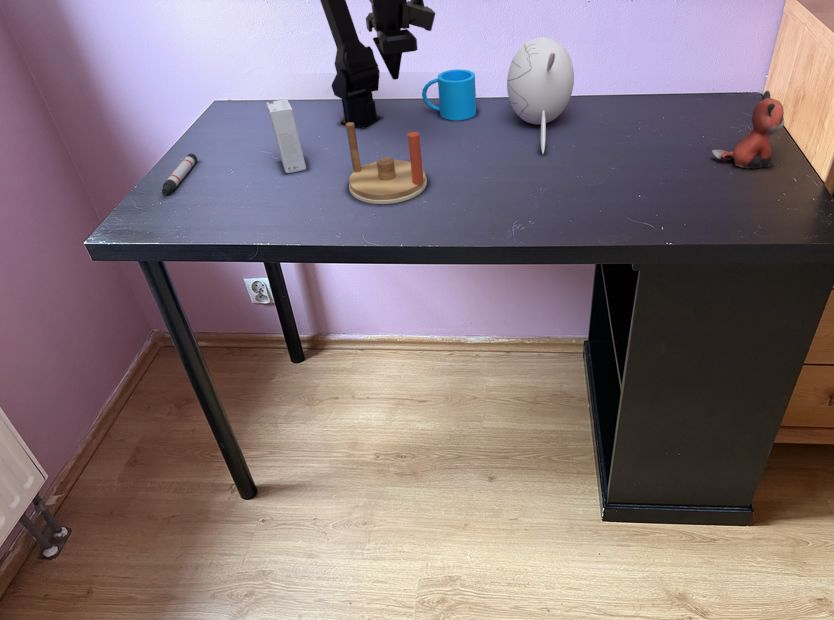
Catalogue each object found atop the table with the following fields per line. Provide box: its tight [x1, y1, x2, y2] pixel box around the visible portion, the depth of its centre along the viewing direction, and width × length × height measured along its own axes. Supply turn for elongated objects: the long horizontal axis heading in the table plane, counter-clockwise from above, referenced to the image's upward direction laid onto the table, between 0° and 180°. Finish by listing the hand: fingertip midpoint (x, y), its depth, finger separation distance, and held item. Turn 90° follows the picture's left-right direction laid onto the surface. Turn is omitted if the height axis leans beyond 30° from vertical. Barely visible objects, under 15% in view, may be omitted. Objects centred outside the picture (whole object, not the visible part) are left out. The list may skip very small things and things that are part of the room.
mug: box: [421, 68, 477, 121], centre depth 145 cm, size 12×8×8 cm
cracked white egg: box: [506, 36, 575, 155], centre depth 134 cm, size 19×14×25 cm
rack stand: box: [348, 175, 428, 205], centre depth 122 cm, size 14×14×1 cm
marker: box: [161, 153, 198, 195], centre depth 127 cm, size 15×2×2 cm, turn 178°
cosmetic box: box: [266, 98, 307, 174], centre depth 126 cm, size 6×4×12 cm
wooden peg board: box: [345, 122, 426, 200], centre depth 119 cm, size 14×14×10 cm
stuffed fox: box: [711, 90, 785, 170], centre depth 120 cm, size 8×11×12 cm
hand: (395, 78), depth 128 cm, fingers closed
